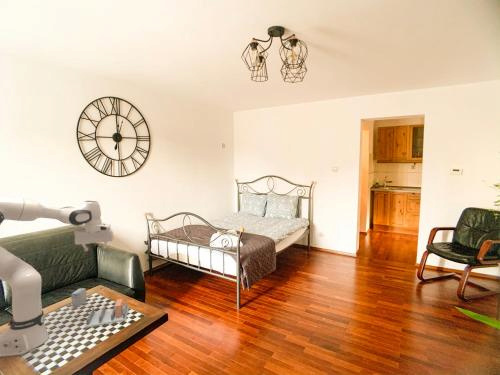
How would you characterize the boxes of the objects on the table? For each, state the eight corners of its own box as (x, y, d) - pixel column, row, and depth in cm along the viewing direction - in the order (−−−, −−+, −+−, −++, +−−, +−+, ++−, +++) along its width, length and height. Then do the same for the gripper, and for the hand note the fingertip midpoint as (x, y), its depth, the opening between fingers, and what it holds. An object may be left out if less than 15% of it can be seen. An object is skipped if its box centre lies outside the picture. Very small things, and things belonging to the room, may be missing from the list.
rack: (85, 328, 145) (84, 321, 144) (92, 314, 158) (91, 307, 158) (125, 320, 151) (125, 313, 150) (129, 307, 164) (128, 301, 164)
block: (115, 317, 152) (114, 306, 151) (118, 310, 159) (117, 299, 159) (121, 316, 153) (120, 305, 152) (123, 309, 160) (122, 298, 160)
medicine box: (80, 300, 174) (79, 288, 173) (87, 300, 174) (85, 288, 173) (71, 307, 166) (70, 294, 165) (78, 307, 166) (77, 294, 165)
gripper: (71, 230, 154) (74, 253, 155) (111, 226, 160) (112, 249, 161) (75, 227, 160) (77, 250, 161) (113, 224, 166) (114, 246, 167)
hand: (95, 249), depth 161 cm, fingers open, 8 cm apart
